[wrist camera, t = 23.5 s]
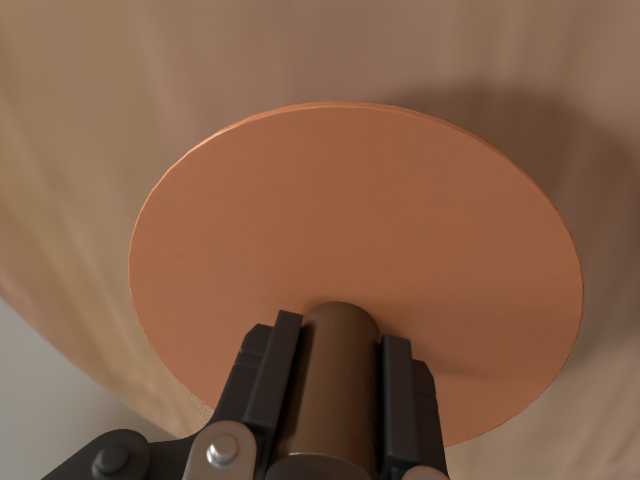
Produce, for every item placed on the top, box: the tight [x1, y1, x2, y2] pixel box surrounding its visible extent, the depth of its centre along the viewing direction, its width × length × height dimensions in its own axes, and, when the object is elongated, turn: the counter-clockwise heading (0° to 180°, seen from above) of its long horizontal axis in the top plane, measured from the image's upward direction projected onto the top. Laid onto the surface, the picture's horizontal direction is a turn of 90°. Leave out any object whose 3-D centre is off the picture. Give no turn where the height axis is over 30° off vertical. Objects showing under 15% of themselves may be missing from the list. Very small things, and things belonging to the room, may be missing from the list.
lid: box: [128, 101, 584, 480], centre depth 11 cm, size 14×14×6 cm
